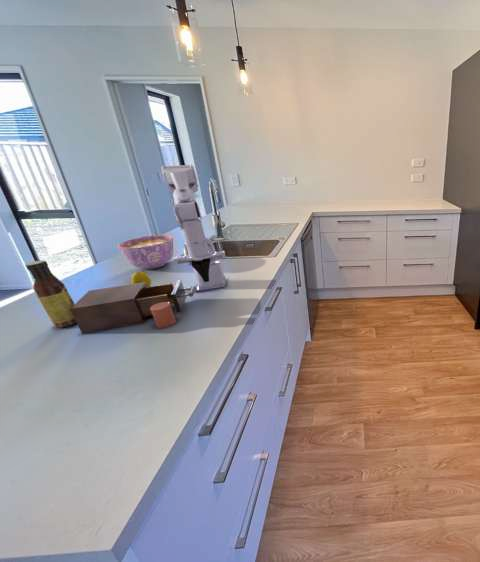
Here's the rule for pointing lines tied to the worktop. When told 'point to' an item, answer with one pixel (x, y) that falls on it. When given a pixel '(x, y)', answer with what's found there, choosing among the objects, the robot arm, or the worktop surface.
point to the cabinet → (108, 308)
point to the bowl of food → (148, 251)
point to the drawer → (163, 296)
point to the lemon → (140, 278)
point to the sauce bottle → (52, 294)
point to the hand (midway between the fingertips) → (206, 280)
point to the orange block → (163, 314)
